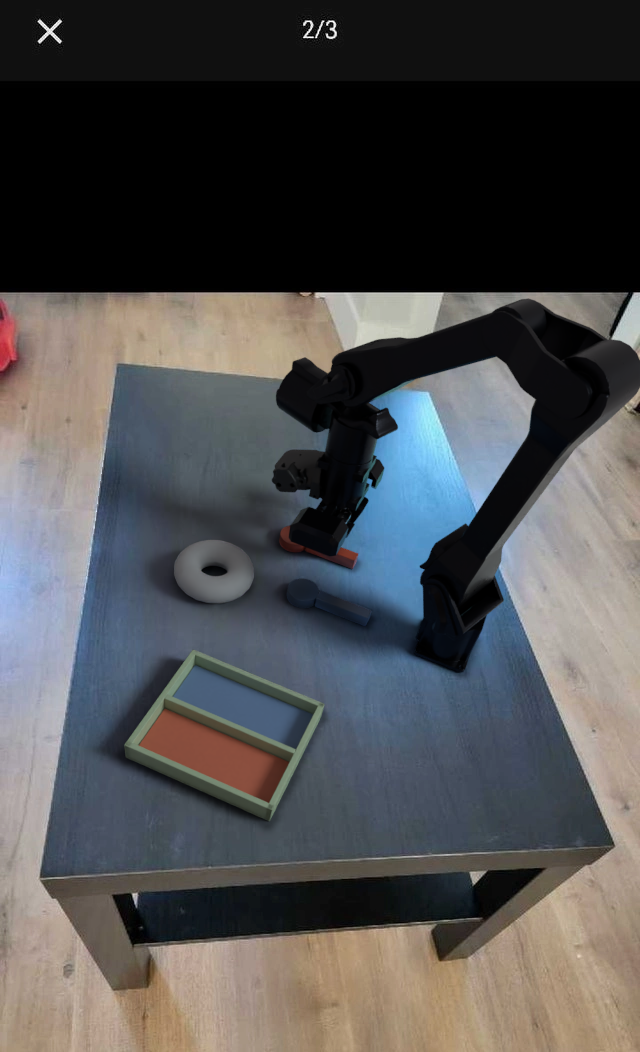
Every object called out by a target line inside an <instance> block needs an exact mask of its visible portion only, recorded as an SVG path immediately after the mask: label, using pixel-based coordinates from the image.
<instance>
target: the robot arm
mask: <svg viewBox="0 0 640 1052" xmlns="http://www.w3.org/2000/svg"><path fill="white" fill-rule="evenodd" d="M494 358H497V359H499V360H500V361H501V362H502V363H504V364H505V365H506V366H507V368H508V370H509V371H510V373H511V374H512V376H513V378H514V379H515V381H516V383H517V384H518V386H519V387H520V388H521V389H522V391H523V392H525V393H526V394H528V395H529V396H530V397H532V398H533V399H534V402H533V404H532V407H531V409H530V418H529V427H528V433H527V435H526V437H525V439H524V440H523V442H522V443H521V445H520V446H519V448H518V449H517V451H516V452H515V454H514V455H513V457H512V458H511V460H510V462H509V463H508V465H507V466H506V468H505V469H504V471H503V473H502V474H501V475H500V477H499V479H498V480H497V481H496V483H495V484H494V486H493V488H492V489H491V491H490V492H489V494H488V495H487V496H486V497H485V500H484V501H483V503H482V504H481V505H480V507H479V509H478V511H477V512H476V514H475V515H474V516H473V518H472V520H471V521H470V522H469V524H467V523H466V522H465V523H464V524H462V525H460V526H459V527H457V528H456V529H455V530H453V531H452V532H450V533H449V534H447V535H445V536H444V537H442V538H441V539H439V540H437V541H436V542H435V543H434V544H433V546H432V548H431V550H430V552H429V555H428V557H427V559H426V560H425V561H424V562H422V564H420V565H419V569H421V570H422V572H421V574H420V577H419V584H420V585H421V586H422V612H423V613H422V614H423V615H422V616H423V618H422V620H421V622H420V625H419V628H418V631H417V633H416V635H415V640H416V641H417V642H416V645H415V648H414V650H413V653H414V655H416V656H417V657H420V658H423V659H425V660H428V661H431V662H432V663H435V664H438V665H440V666H442V667H446V668H447V669H450V670H453V671H455V672H458V673H464V672H465V670H466V668H467V666H468V662H469V659H470V656H471V654H472V651H473V649H474V647H475V645H476V643H477V641H478V639H479V637H480V635H481V633H482V631H483V629H484V625H485V622H486V619H487V616H488V615H489V614H490V613H491V612H493V611H494V610H495V609H497V608H498V607H499V606H500V605H502V603H504V601H505V600H504V596H503V594H502V591H501V588H500V586H499V583H498V580H497V578H496V573H497V572H498V569H499V567H500V565H501V563H502V556H503V555H502V554H503V548H504V545H506V543H507V542H508V540H509V539H510V538H511V536H512V535H513V533H515V530H516V529H517V528H518V527H519V525H521V522H523V520H524V519H525V518H526V516H527V515H528V514H529V513H530V511H531V509H532V508H533V506H534V505H535V504H536V503H537V501H539V498H540V497H541V496H542V494H543V493H544V492H545V490H546V489H547V488H548V486H549V485H550V483H552V481H553V480H554V478H555V477H556V475H557V474H558V473H559V471H560V470H561V469H562V468H563V466H564V465H565V463H566V462H567V461H568V460H569V458H570V456H571V455H572V454H573V453H574V451H575V450H577V448H578V447H580V445H582V444H583V443H584V442H585V441H586V440H587V439H588V438H590V437H592V436H593V434H594V433H596V432H597V431H598V430H599V429H601V428H602V427H603V426H604V425H605V424H606V423H608V422H609V420H611V419H612V418H613V417H614V416H615V415H616V414H618V413H619V411H621V410H622V408H624V407H625V406H626V405H627V404H628V403H629V402H630V401H631V400H632V399H633V398H634V397H635V396H636V395H637V394H638V392H639V390H640V357H639V354H638V353H637V352H636V351H635V349H634V348H633V347H632V346H631V345H630V344H628V343H626V342H624V341H622V340H619V339H612V338H611V339H610V338H609V339H608V338H606V337H605V336H604V335H602V334H600V333H599V332H598V331H596V330H595V329H594V328H591V327H590V326H588V325H585V324H582V323H581V322H577V321H575V320H572V319H569V318H567V317H565V316H562V315H560V314H557V313H555V312H554V311H552V310H551V309H550V308H548V307H546V306H545V305H544V304H542V303H541V302H539V301H537V300H535V299H531V298H522V299H518V300H515V301H513V302H510V303H507V304H505V305H503V306H500V307H496V309H494V310H493V311H492V312H489V313H486V314H484V315H480V316H477V317H474V318H471V319H469V320H466V321H462V322H460V323H457V324H454V325H451V326H448V327H445V328H442V329H439V330H435V331H433V332H430V333H427V334H423V335H421V336H418V337H408V338H407V337H402V336H398V337H385V338H377V339H374V340H372V341H369V342H366V343H363V344H361V345H357V346H355V347H352V348H349V349H347V350H343V351H340V352H338V353H337V354H335V356H333V357H332V358H331V367H330V371H329V372H326V370H324V369H322V368H320V367H319V366H317V365H316V364H315V363H314V362H313V361H312V360H311V359H309V358H307V357H301V358H298V359H295V360H293V361H292V363H291V370H290V371H289V372H287V374H286V375H285V376H284V377H283V379H282V381H281V382H280V384H279V387H278V388H277V389H276V392H275V402H276V406H277V407H278V409H279V410H281V411H282V412H283V413H285V414H286V415H288V416H289V417H291V418H292V419H294V420H295V421H297V422H298V423H300V424H301V425H302V426H304V427H305V428H307V429H308V430H310V431H311V432H313V433H317V434H318V433H322V432H324V431H326V430H328V433H327V439H326V445H325V450H324V451H321V450H317V449H289V450H286V451H285V452H284V453H283V454H282V455H281V457H280V458H279V459H278V460H277V462H276V463H275V464H274V469H273V470H272V474H273V476H272V478H271V482H272V484H274V485H275V488H276V490H277V491H278V492H280V493H296V492H297V491H309V492H308V493H309V494H308V497H309V498H312V499H315V500H319V499H321V501H319V503H318V505H317V507H316V508H314V507H311V506H307V507H305V508H303V509H301V510H300V511H299V512H298V514H297V515H296V516H295V518H294V519H293V521H291V524H289V526H290V530H289V539H290V541H291V542H293V543H296V544H299V545H301V546H304V547H306V548H309V549H312V550H314V551H317V552H319V553H322V554H325V555H327V556H336V555H337V553H338V551H339V550H340V548H341V547H342V546H343V545H344V543H345V540H346V539H347V538H348V537H349V535H350V533H351V532H352V530H353V529H354V527H355V526H356V524H355V522H356V521H357V520H358V519H359V517H360V516H361V515H362V513H363V512H364V510H365V509H366V507H367V505H368V504H369V498H368V497H366V495H367V493H368V491H369V489H370V488H371V489H374V490H376V489H377V488H378V487H379V484H380V483H381V481H382V479H383V477H384V476H383V475H384V471H385V466H384V464H383V463H382V461H381V459H379V458H377V455H375V450H376V447H377V443H378V440H380V439H381V438H383V437H386V436H388V435H390V434H392V433H393V432H396V431H398V429H399V426H398V423H397V421H396V419H395V418H394V417H393V416H392V415H391V412H390V410H389V408H388V407H383V408H382V409H380V408H378V407H376V406H375V405H373V404H372V403H371V402H374V401H376V400H378V399H380V398H383V397H386V396H387V395H390V394H392V393H394V392H396V391H398V390H400V389H402V388H404V387H405V386H408V385H409V384H412V383H413V382H414V381H416V380H418V379H422V378H426V377H429V376H433V375H436V374H440V373H443V372H447V371H451V370H454V369H458V368H462V367H464V366H465V367H466V366H469V365H472V364H476V363H479V362H483V361H486V360H487V361H488V360H490V359H494ZM369 480H371V484H370V483H369V482H368V481H369Z"/></svg>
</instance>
